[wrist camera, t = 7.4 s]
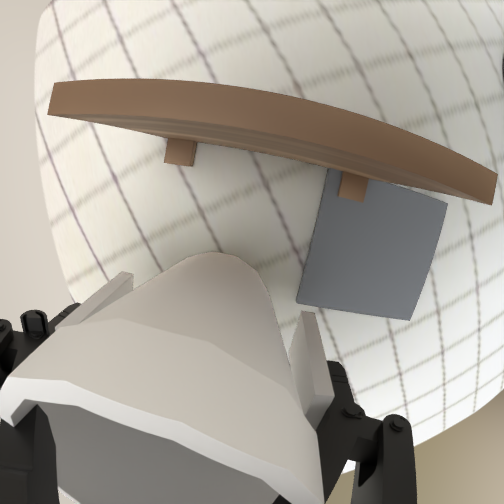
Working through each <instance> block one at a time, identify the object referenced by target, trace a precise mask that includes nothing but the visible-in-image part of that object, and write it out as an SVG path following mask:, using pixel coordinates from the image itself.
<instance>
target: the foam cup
mask: <svg viewBox="0 0 504 504" xmlns="http://www.w3.org/2000/svg"><path fill="white" fill-rule="evenodd" d="M36 404H38V405H39V406H40V408H41V409H42V410H43V411H44V412H45V414H46V415H47V416H48V419H49V423H50V427H51V431H52V434H53V438H54V441H55V444H56V466H57V483H58V491H60V492H61V493H62V494H63V495H65V496H66V497H67V498H69V499H70V500H71V501H73V502H74V503H76V504H272V503H273V502H274V501H275V499H276V498H277V497H278V495H279V494H280V495H281V496H283V497H284V498H285V499H286V500H288V501H289V502H290V503H292V504H324V494H323V484H322V474H321V465H320V456H319V447H318V439H317V434H316V432H315V431H314V429H313V428H312V426H311V425H310V423H309V422H308V420H307V419H306V417H305V416H304V413H303V410H302V406H301V403H300V399H299V396H298V392H297V389H296V385H295V382H294V378H293V375H292V371H291V368H290V364H289V361H288V357H287V354H286V350H285V347H284V343H283V340H282V337H281V333H280V330H279V326H278V323H277V319H276V316H275V312H274V309H273V305H272V302H271V299H270V295H269V294H268V290H267V288H266V287H265V285H264V283H263V281H262V279H261V277H260V276H259V274H258V272H257V271H256V270H255V269H254V268H252V267H251V266H250V265H248V264H247V263H245V262H244V261H243V260H241V259H240V258H239V257H237V256H233V255H229V254H224V253H219V252H214V251H210V252H206V253H202V254H198V255H194V256H190V257H188V258H186V259H184V260H182V261H181V262H179V263H177V264H176V265H174V266H172V267H170V268H169V269H167V270H165V271H164V272H162V273H160V274H159V275H157V276H156V277H154V278H152V279H151V280H149V281H147V282H146V283H144V284H142V285H141V286H139V287H137V288H136V289H134V290H133V291H131V292H129V293H128V294H126V295H124V296H123V297H121V298H120V299H118V300H116V301H115V302H113V303H111V304H110V305H108V306H107V307H105V308H103V309H102V310H100V311H99V312H97V313H95V314H94V315H92V316H91V317H89V318H88V319H86V320H84V321H83V322H81V323H80V324H78V325H71V326H64V327H60V328H59V329H58V330H56V331H55V332H54V333H53V334H52V335H51V336H50V337H49V338H48V339H47V340H45V341H44V342H43V343H42V344H41V345H40V346H39V347H38V348H37V349H36V350H35V351H34V352H33V353H31V354H30V355H29V356H28V357H27V358H26V359H25V360H24V361H23V362H22V363H21V364H20V365H19V366H18V367H17V368H16V369H15V370H14V371H13V372H12V373H11V374H10V375H9V376H8V377H7V379H6V380H5V382H4V384H3V386H2V388H1V390H0V418H2V419H3V420H5V421H6V422H8V423H9V424H10V425H12V426H13V427H15V426H16V425H17V424H18V423H19V422H20V421H21V420H22V418H23V417H24V416H25V415H26V414H27V413H28V412H29V411H30V410H31V409H32V408H33V407H34V406H35V405H36Z"/></svg>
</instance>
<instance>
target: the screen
mask: <svg viewBox="0 0 504 504" xmlns="http://www.w3.org/2000/svg"><path fill="white" fill-rule="evenodd" d="M47 115H52V116H59V117H65V118H71V119H77V120H83V121H89V122H94V123H100V124H105V125H110V126H115V127H120V128H125V129H129V130H134V131H138V132H143V133H147V134H151V135H156V136H160V137H164V138H168V142H167V147H166V153H165V159H164V163H169V164H176V165H183V166H193V161H194V156H195V150H196V145H197V142H201V143H207V144H214V145H220V146H227V147H232V148H238V149H244V150H249V151H255V152H260V153H265V154H270V155H275V156H280V157H284V158H289V159H294V160H298V161H302V162H307V163H311V164H315V165H319V166H323V167H327V168H332V169H336V170H340V171H343V172H342V177H341V182H340V186H339V191H338V195H337V196H339V197H343V198H347V199H351V200H354V201H358V202H362V203H363V202H364V198H365V194H366V189H367V185H368V180H369V179H372V180H378V181H384V182H389V183H395V184H400V185H405V186H411V187H416V188H421V189H425V190H430V191H435V192H439V193H444V194H448V195H452V196H457V197H461V198H465V199H469V200H473V201H477V202H480V203H484V204H488V205H492V203H493V198H494V193H495V188H496V182H497V176H498V174H497V173H495V172H493V171H491V170H489V169H488V168H486V167H484V166H482V165H480V164H478V163H476V162H474V161H473V160H471V159H469V158H467V157H465V156H463V155H461V154H459V153H456V152H454V151H452V150H450V149H448V148H446V147H444V146H441V145H439V144H437V143H435V142H432V141H430V140H428V139H425V138H423V137H421V136H418V135H416V134H413V133H411V132H408V131H406V130H403V129H400V128H398V127H395V126H392V125H389V124H387V123H384V122H381V121H378V120H375V119H372V118H369V117H366V116H363V115H360V114H357V113H353V112H350V111H347V110H343V109H340V108H336V107H333V106H329V105H325V104H321V103H317V102H313V101H309V100H305V99H301V98H297V97H292V96H287V95H283V94H278V93H273V92H267V91H262V90H256V89H250V88H244V87H237V86H230V85H222V84H214V83H205V82H194V81H182V80H165V79H95V80H79V81H67V82H57V83H54V86H53V91H52V95H51V99H50V104H49V109H48V114H47Z"/></svg>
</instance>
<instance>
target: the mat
mask: <svg viewBox="0 0 504 504" xmlns="http://www.w3.org/2000/svg"><path fill="white" fill-rule="evenodd" d="M342 172H343V171H340V170H336V169H332V168H328V172H327V176H326V181H325V185H324V190H323V194H322V199H321V203H320V207H319V212H318V216H317V220H316V224H315V229H314V233H313V237H312V241H311V245H310V249H309V253H308V257H307V261H306V264H305V268H304V272H303V276H302V280H301V283H300V287H299V291H298V294H297V298H296V303H298V304H304V305H310V306H316V307H322V308H328V309H334V310H340V311H346V312H353V313H359V314H366V315H373V316H380V317H387V318H394V319H401V320H409V321H410V319H411V316H412V314H413V312H414V309H415V307H416V304H417V302H418V299H419V296H420V294H421V291H422V288H423V286H424V283H425V280H426V277H427V274H428V271H429V268H430V265H431V262H432V259H433V256H434V253H435V250H436V246H437V243H438V240H439V236H440V233H441V229H442V225H443V221H444V218H445V214H446V210H447V205H448V203H445V202H443V201H440V200H437V199H434V198H432V197H429V196H426V195H423V194H420V193H417V192H414V191H411V190H408V189H405V188H402V187H399V186H396V185H393V184H390V183H387V182H383V181H378V180H372V179H369V180H368V185H367V189H366V194H365V198H364V202H363V203H362V202H358V201H354V200H351V199H347V198H343V197H339V196H337V195H338V191H339V186H340V182H341V177H342Z"/></svg>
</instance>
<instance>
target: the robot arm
mask: <svg viewBox="0 0 504 504" xmlns="http://www.w3.org/2000/svg"><path fill="white" fill-rule="evenodd" d="M503 70H504V61H503ZM131 291H133V274H130V273H126V272H121V273H119V274H118V275H117V276H116V277H114V278H113V279H112V280H110V281H109V282H108V283H107V284H106V285H104V286H103V287H102V288H101V289H99V290H98V291H97V292H96V293H94V294H93V295H92V296H91V297H90V298H88V299H87V300H86V301H85V302H84V303H82V304H80V303H75V304H72V305H70V306H68V307H67V308H65V309H64V310H63V312H61V313H59V314H58V315H57V316H56V317H54V318H53V319H52V320H51V321H50V322H48V320H47V315H46V314H45V313H44V312H42V311H40V310H29V311H26V312H25V313H23V314H22V315H21V316H20V318H21V323H22V328H23V332H18V331H13V329H12V325H11V323H10V322H9V321H8V320H4V319H0V390H1V388H2V386H3V384H4V382H5V380H6V379H7V377H8V376H9V375H10V374H11V373H12V372H13V371H14V370H15V369H16V368H17V367H18V366H19V365H20V364H21V363H22V362H23V361H24V360H25V359H26V358H27V357H28V356H29V355H30V354H31V353H33V352H34V351H35V350H36V349H37V348H38V347H39V346H40V345H41V344H42V343H43V342H44V341H45V340H47V339H48V338H49V337H50V336H51V335H52V334H53V333H54V332H55V331H56V330H58V329H59V328H60V327H64V326H71V325H78V324H80V323H81V322H83V321H84V320H86V319H88V318H89V317H91V316H92V315H94V314H95V313H97V312H99V311H100V310H102V309H103V308H105V307H107V306H108V305H110V304H111V303H113V302H115V301H116V300H118V299H120V298H121V297H123V296H124V295H126V294H128V293H129V292H131ZM289 360H290V368H291V371H292V375H293V378H294V382H295V385H296V389H297V392H298V396H299V399H300V403H301V406H302V410H303V413H304V416H305V417H306V419H307V420H308V422H309V423H310V425H311V426H312V428H313V429H314V431H315V432H316V434H317V439H318V447H319V456H320V465H321V474H322V484H323V494H324V504H325V503H326V501H327V499H328V498H329V496H330V494H331V492H332V490H333V488H334V486H335V484H336V483H337V481H338V479H339V476H340V475H341V473H342V470H343V468H344V466H345V464H346V462H347V460H352V461H356V466H355V475H354V483H353V491H352V498H351V504H417V487H416V470H415V457H414V446H413V437H412V429H411V425H410V423H409V422H408V420H407V419H405V418H404V417H402V416H400V415H397V414H391V415H388V416H386V417H385V418H384V420H383V421H381V420H377V419H374V418H370V417H368V416H366V415H365V412H364V410H363V409H362V408H361V407H360V406H359V405H357V404H356V403H355V402H354V399H353V395H352V392H351V389H350V385H349V384H348V378H347V375H346V372H345V369H344V368H343V366H342V365H341V364H340V363H339V362H335V361H327V360H326V357H325V353H324V349H323V344H322V340H321V336H320V332H319V328H318V325H317V321H316V317H315V313H311V312H306V311H301V313H300V317H299V320H298V323H297V326H296V330H295V333H294V336H293V339H292V342H291V346H290V349H289ZM0 504H60V503H59V496H58V483H57V466H56V444H55V441H54V438H53V434H52V431H51V427H50V423H49V419H48V416H47V415H46V414H45V412H44V411H43V410H42V409H41V408H40V406H39V405H38V404H36V405H35V406H34V407H33V408H32V409H31V410H30V411H29V412H28V413H27V414H26V415H25V416H24V417H23V418H22V420H21V421H20V422H19V423H18V424H17V425H16V426H15V427H13V426H12V425H10V424H9V423H8V422H6V421H5V420H3V419H2V418H1V422H0ZM272 504H292V503H290V502H289V501H288V500H286V499H285V498H284V497H283V496H281V495H280V494H279V495H278V497H277V498H276V499H275V501H274V502H273V503H272Z"/></svg>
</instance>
